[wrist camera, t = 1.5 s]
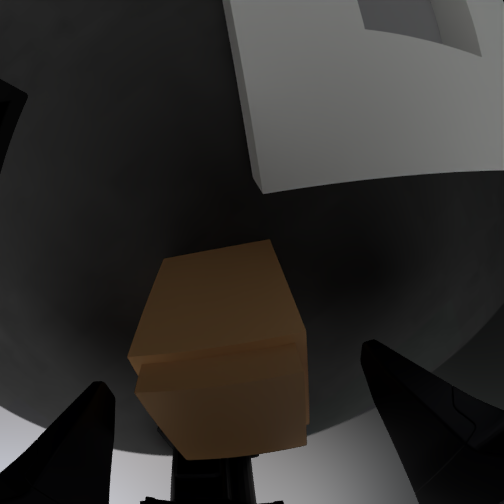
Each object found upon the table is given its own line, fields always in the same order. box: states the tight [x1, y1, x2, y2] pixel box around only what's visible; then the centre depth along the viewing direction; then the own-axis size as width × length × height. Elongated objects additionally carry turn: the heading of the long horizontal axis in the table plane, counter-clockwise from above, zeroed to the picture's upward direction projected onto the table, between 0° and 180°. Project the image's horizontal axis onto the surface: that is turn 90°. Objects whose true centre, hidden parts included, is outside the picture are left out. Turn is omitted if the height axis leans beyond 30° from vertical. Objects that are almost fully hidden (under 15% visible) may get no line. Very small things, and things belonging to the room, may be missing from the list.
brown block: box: [127, 239, 309, 460], centre depth 10 cm, size 5×5×7 cm
